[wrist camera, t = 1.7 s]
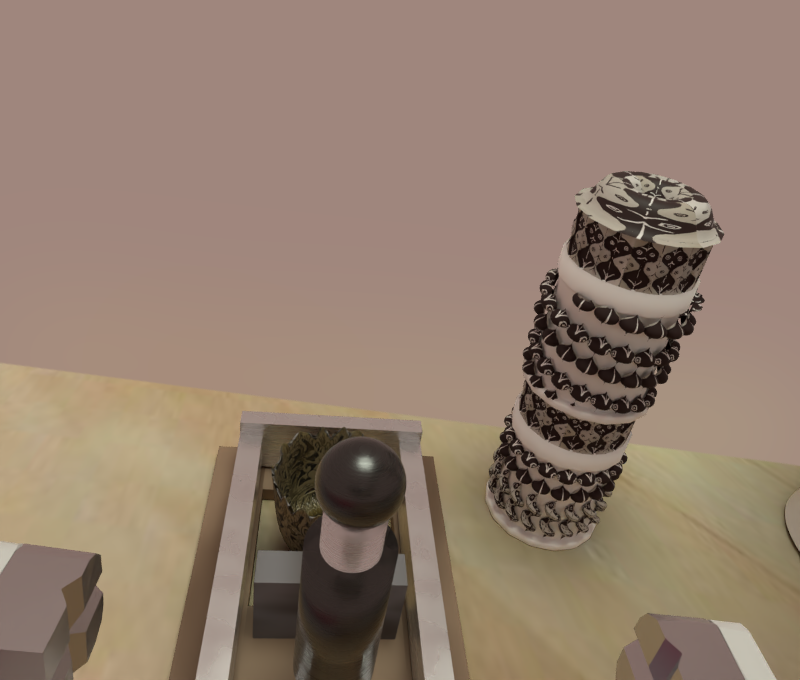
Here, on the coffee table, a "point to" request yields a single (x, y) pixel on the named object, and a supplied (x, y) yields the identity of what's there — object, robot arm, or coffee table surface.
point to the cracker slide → (337, 550)
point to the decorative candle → (599, 353)
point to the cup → (301, 482)
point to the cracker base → (284, 651)
